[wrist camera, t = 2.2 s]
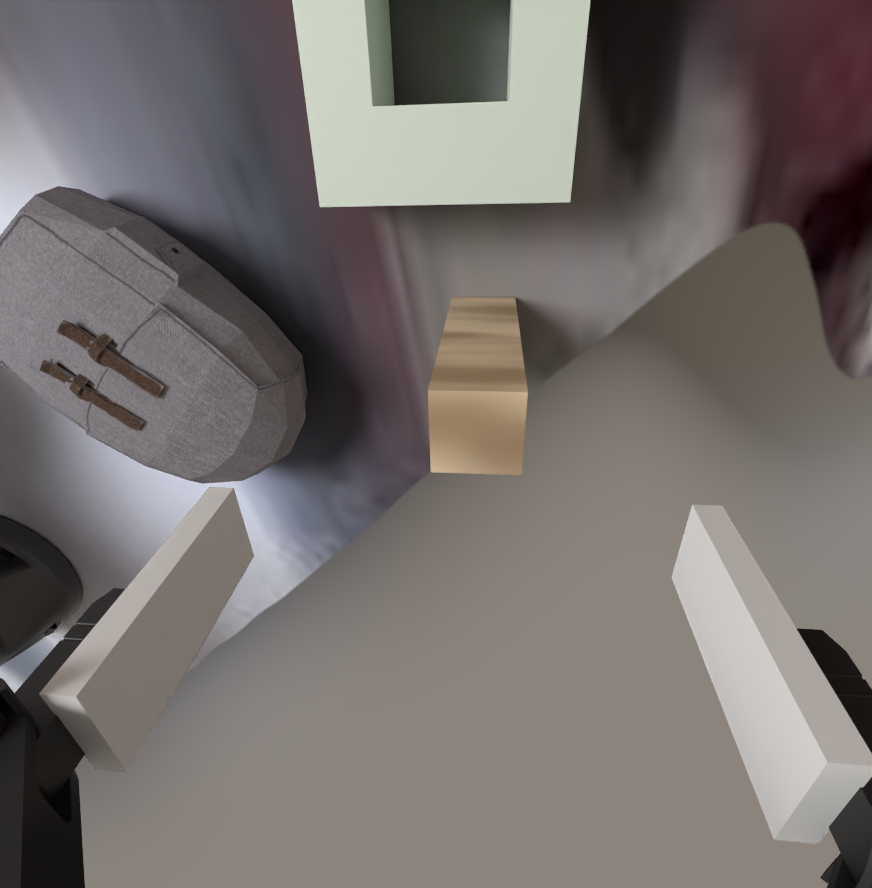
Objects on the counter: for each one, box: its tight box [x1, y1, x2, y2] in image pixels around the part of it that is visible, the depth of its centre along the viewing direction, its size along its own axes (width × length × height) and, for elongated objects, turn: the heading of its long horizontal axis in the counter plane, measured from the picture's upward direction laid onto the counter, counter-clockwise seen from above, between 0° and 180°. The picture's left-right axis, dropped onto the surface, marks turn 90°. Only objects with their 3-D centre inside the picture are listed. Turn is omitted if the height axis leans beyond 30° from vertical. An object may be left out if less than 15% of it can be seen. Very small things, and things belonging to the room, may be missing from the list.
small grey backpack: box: [0, 187, 308, 483], centre depth 32 cm, size 15×8×20 cm
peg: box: [428, 297, 528, 475], centre depth 27 cm, size 4×4×14 cm
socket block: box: [292, 0, 590, 207], centre depth 23 cm, size 14×12×6 cm
